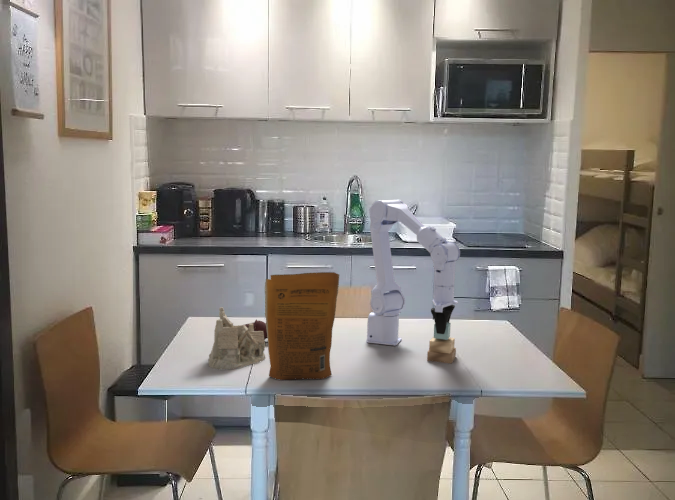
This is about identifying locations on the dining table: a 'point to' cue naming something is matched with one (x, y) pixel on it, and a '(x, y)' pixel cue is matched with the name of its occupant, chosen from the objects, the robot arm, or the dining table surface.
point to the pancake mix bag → (300, 324)
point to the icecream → (259, 327)
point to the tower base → (441, 356)
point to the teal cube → (446, 334)
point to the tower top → (441, 345)
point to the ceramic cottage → (235, 345)
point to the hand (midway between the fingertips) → (442, 331)
